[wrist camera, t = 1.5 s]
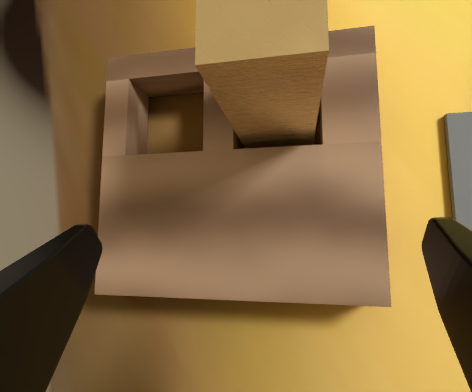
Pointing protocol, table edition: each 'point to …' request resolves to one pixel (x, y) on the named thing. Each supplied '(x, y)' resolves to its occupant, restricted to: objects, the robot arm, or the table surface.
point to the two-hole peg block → (245, 193)
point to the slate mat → (460, 165)
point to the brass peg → (265, 66)
